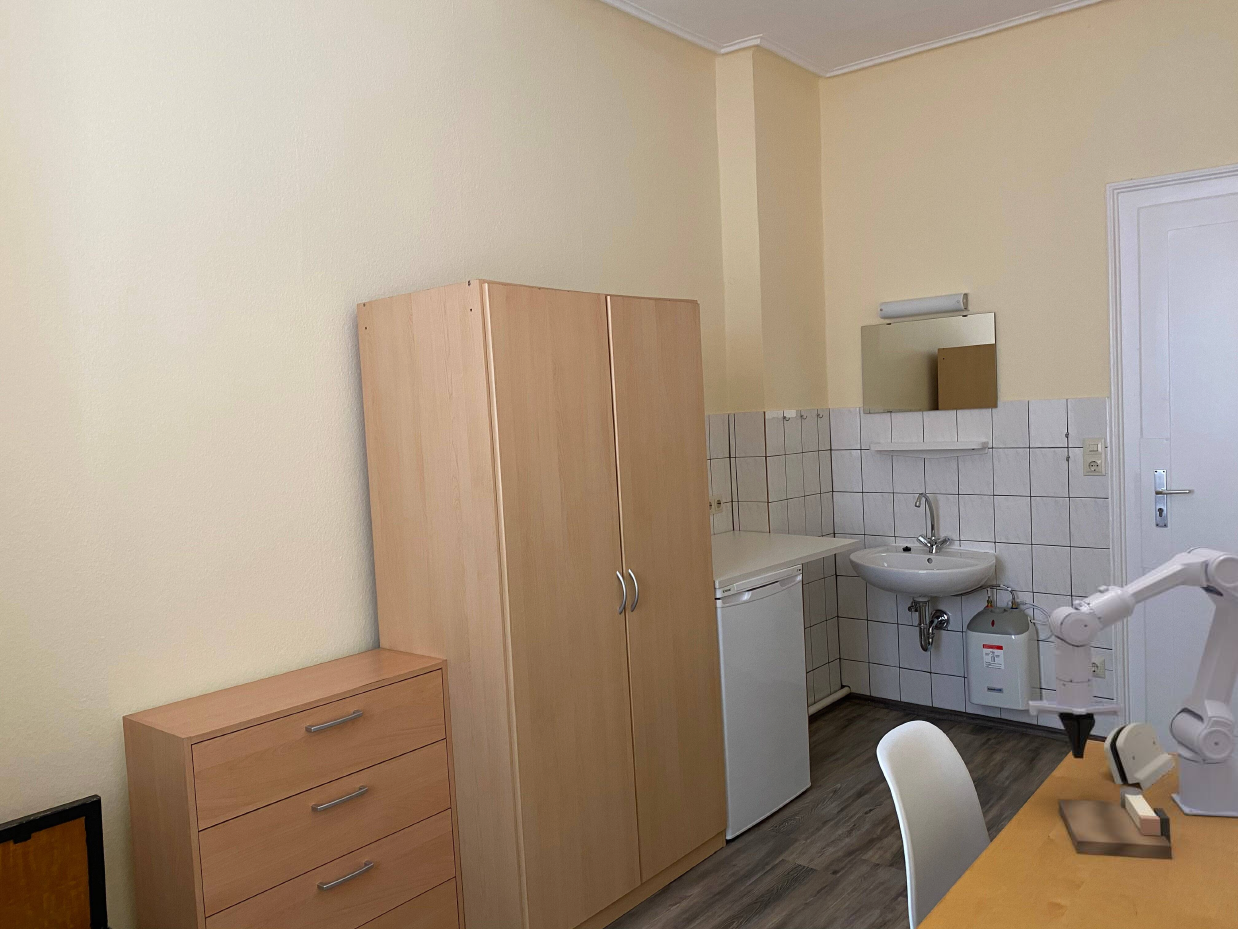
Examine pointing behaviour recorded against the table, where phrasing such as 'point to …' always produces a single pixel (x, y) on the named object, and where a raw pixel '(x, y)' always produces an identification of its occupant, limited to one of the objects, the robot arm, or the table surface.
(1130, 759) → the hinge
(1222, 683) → the robot arm
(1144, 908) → the table surface
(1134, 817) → the folding leg
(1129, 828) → the stool seat
